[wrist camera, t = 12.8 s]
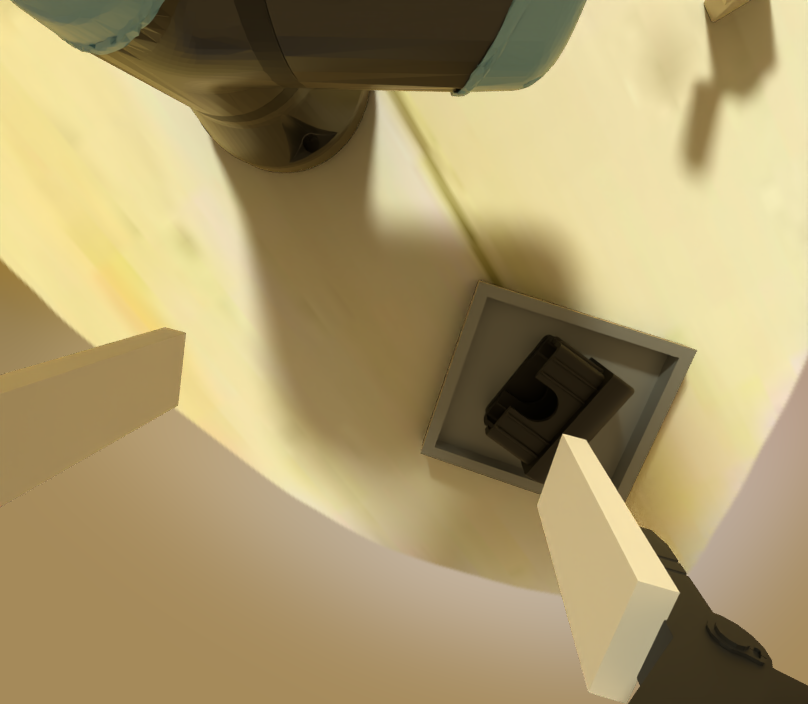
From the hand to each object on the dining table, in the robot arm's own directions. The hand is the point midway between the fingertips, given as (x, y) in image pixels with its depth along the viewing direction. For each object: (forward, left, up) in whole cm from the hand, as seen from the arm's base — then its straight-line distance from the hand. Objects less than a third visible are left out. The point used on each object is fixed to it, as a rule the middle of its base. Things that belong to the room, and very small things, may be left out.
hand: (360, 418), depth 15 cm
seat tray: (+12, -3, -26) cm, 29 cm away
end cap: (+12, -3, -26) cm, 29 cm away
